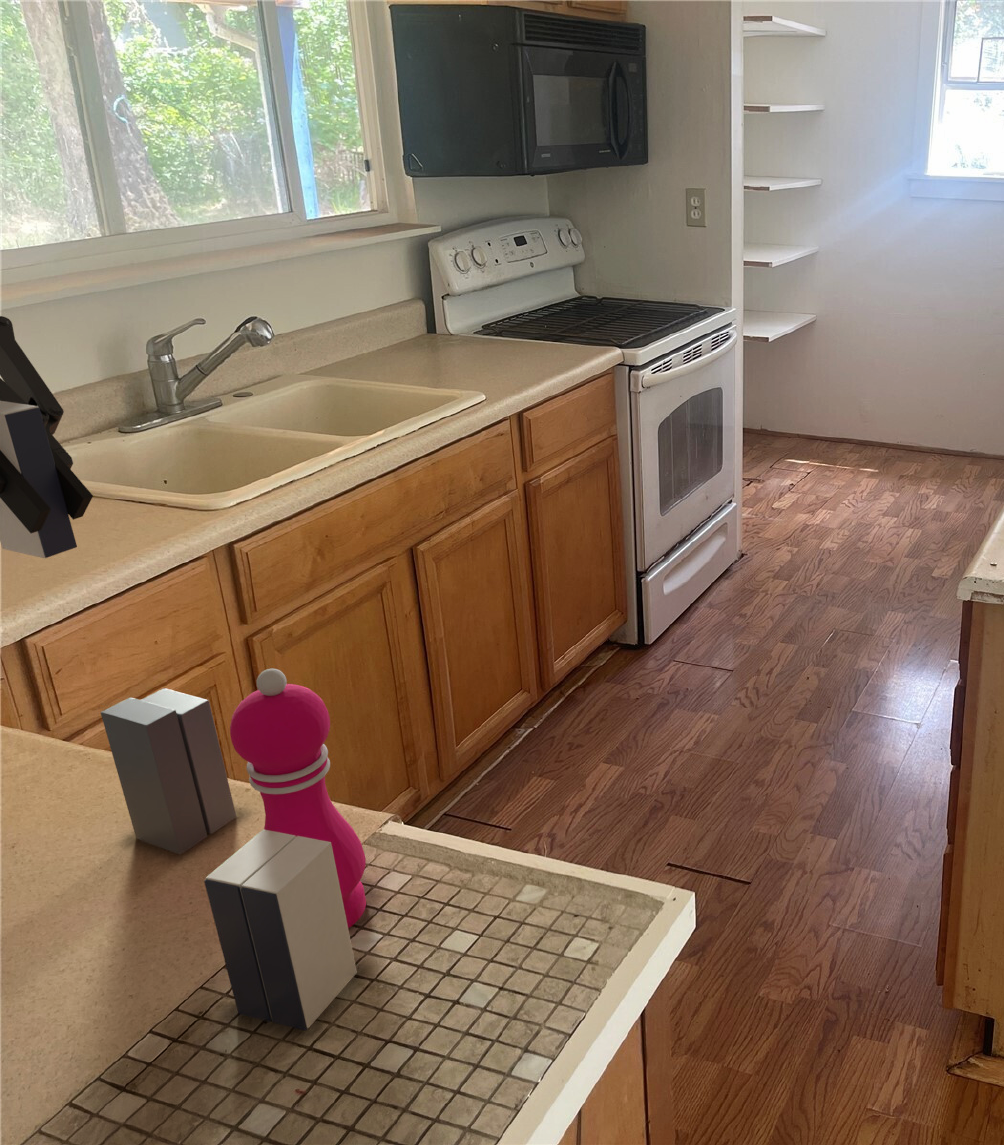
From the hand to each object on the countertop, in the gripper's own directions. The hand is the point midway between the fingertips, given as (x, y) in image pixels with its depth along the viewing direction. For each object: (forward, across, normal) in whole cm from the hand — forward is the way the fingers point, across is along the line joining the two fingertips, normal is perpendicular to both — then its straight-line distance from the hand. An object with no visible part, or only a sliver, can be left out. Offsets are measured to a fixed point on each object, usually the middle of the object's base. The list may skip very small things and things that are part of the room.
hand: (61, 514), depth 79 cm
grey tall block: (+38, -10, -1) cm, 40 cm away
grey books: (+23, -1, +14) cm, 27 cm away
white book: (0, 0, +5) cm, 5 cm away
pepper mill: (+35, -4, +2) cm, 35 cm away
